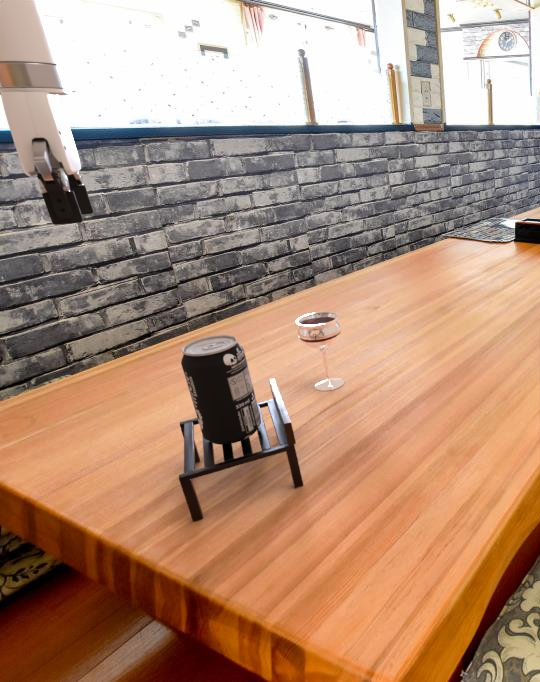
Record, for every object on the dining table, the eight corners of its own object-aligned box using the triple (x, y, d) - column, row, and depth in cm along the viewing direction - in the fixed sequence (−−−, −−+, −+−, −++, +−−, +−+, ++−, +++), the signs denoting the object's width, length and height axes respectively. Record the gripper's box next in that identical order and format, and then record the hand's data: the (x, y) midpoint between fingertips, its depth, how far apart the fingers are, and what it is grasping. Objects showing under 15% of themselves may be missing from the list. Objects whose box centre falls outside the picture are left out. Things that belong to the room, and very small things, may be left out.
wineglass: (358, 378, 93) (347, 313, 88) (332, 395, 87) (319, 327, 82) (327, 373, 95) (315, 310, 91) (300, 389, 89) (286, 323, 85)
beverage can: (199, 431, 66) (172, 343, 62) (254, 413, 70) (232, 329, 66) (211, 454, 62) (183, 360, 57) (269, 433, 66) (247, 344, 61)
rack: (193, 521, 60) (170, 455, 56) (191, 460, 71) (173, 401, 68) (305, 485, 65) (291, 422, 62) (287, 433, 77) (274, 377, 73)
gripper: (7, 86, 72) (53, 214, 79) (-35, 75, 58) (25, 231, 65) (75, 86, 76) (114, 208, 82) (51, 76, 62) (99, 224, 68)
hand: (75, 218), depth 73 cm, fingers open, 9 cm apart
